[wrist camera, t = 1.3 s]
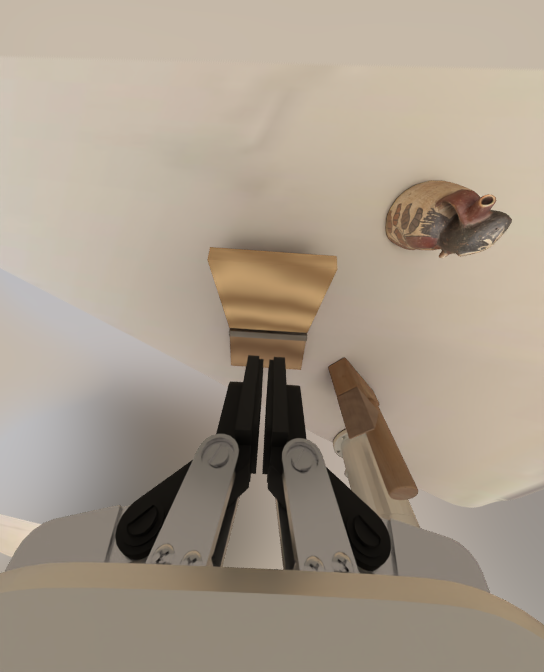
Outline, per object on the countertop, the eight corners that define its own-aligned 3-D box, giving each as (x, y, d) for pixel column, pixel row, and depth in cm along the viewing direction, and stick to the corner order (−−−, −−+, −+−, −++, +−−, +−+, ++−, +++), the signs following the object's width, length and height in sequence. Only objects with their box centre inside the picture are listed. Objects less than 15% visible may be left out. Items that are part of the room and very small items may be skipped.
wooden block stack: (344, 356, 39) (387, 459, 24) (373, 390, 43) (425, 496, 28) (326, 366, 40) (356, 470, 25) (356, 398, 45) (397, 504, 29)
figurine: (391, 257, 30) (450, 289, 20) (378, 203, 27) (439, 209, 17) (449, 229, 28) (547, 249, 18) (442, 167, 25) (557, 149, 15)
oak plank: (307, 324, 35) (307, 332, 35) (230, 319, 35) (229, 327, 34) (336, 256, 21) (337, 268, 21) (210, 247, 21) (207, 259, 20)
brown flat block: (300, 363, 40) (301, 370, 38) (232, 359, 40) (230, 365, 38) (305, 330, 36) (307, 335, 35) (231, 325, 36) (229, 330, 35)
